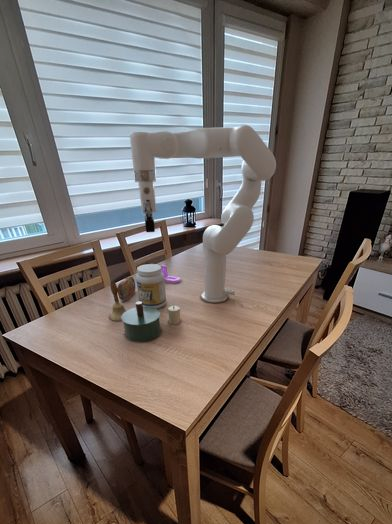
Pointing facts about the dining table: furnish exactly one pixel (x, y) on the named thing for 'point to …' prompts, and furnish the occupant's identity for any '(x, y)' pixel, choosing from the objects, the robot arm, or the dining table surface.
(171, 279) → the bracket
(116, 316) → the hand bell
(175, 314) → the candle
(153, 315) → the tin lid
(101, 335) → the dining table surface
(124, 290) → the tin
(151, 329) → the candle tin
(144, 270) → the supplement tub
